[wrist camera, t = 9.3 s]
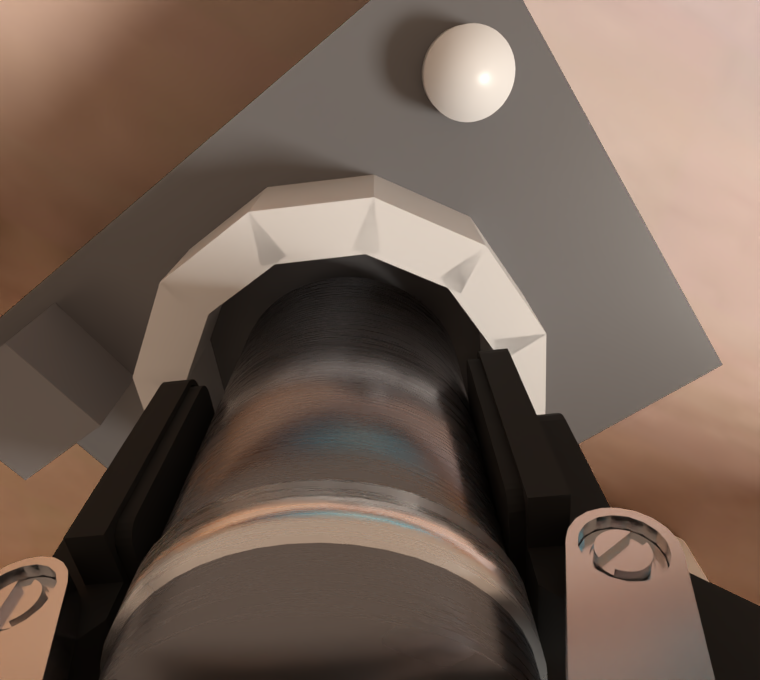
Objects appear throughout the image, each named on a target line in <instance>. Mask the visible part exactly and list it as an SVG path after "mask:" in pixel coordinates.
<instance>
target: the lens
mask: <svg viewBox="0 0 760 680" xmlns="http://www.w3.org/2000/svg"><path fill="white" fill-rule="evenodd" d="M99 680H548V679H547V666H546V661H545V658H544V654H543V650H542V647H541V643H540V639H539V636H538V632H537V629H536V625H535V621H534V618H533V614H532V610H531V607H530V603H529V600H528V596H527V593H526V589H525V586H524V583H523V581H522V579H521V577H520V575H519V573H518V571H517V569H516V567H515V566H514V564H513V563H512V562H511V560H510V559H509V557H508V553H507V549H506V546H505V542H504V538H503V534H502V530H501V526H500V522H499V519H498V515H497V511H496V507H495V503H494V499H493V496H492V492H491V488H490V484H489V480H488V476H487V472H486V469H485V465H484V461H483V457H482V453H481V449H480V445H479V442H478V438H477V434H476V430H475V426H474V422H473V418H472V415H471V411H470V407H469V403H468V398H467V394H466V391H465V387H464V383H463V379H462V375H461V371H460V367H459V364H458V360H457V356H456V352H455V349H454V346H453V343H452V341H451V338H450V336H449V334H448V332H447V330H446V329H445V327H444V326H443V324H442V323H441V321H440V320H439V319H438V317H437V316H436V315H435V314H434V313H433V312H432V311H431V310H430V309H429V308H428V307H427V306H426V305H425V304H424V303H422V302H421V301H420V300H419V299H417V298H415V297H414V296H412V295H411V294H409V293H408V292H406V291H404V290H402V289H400V288H398V287H396V286H393V285H390V284H387V283H384V282H381V281H377V280H372V279H367V278H357V277H337V278H330V279H324V280H319V281H315V282H312V283H309V284H305V285H303V286H301V287H299V288H297V289H294V290H292V291H290V292H289V293H287V294H286V295H284V296H282V297H281V298H279V299H278V300H277V301H276V302H275V303H273V304H272V305H271V306H270V307H269V308H268V309H267V310H266V311H265V312H264V313H263V314H262V315H261V316H260V318H259V319H258V321H257V322H256V324H255V325H254V327H253V328H252V330H251V332H250V334H249V337H248V339H247V341H246V343H245V345H244V348H243V350H242V352H241V355H240V357H239V359H238V362H237V364H236V366H235V368H234V371H233V373H232V375H231V378H230V380H229V382H228V384H227V387H226V389H225V391H224V394H223V396H222V398H221V400H220V403H219V405H218V407H217V410H216V412H215V414H214V416H213V419H212V421H211V423H210V426H209V428H208V430H207V433H206V435H205V437H204V439H203V442H202V444H201V446H200V449H199V451H198V453H197V455H196V458H195V460H194V462H193V465H192V467H191V469H190V471H189V474H188V476H187V478H186V481H185V483H184V485H183V487H182V490H181V492H180V494H179V497H178V499H177V501H176V504H175V506H174V508H173V510H172V513H171V515H170V517H169V520H168V522H167V524H166V526H165V529H164V531H163V533H162V536H161V538H160V539H159V540H158V541H157V542H156V543H155V544H154V545H153V546H152V547H151V549H150V550H149V552H148V553H147V554H146V556H145V557H144V559H143V560H142V561H141V563H140V565H139V568H138V570H137V572H136V574H135V576H134V578H133V580H132V583H131V585H130V587H129V589H128V591H127V594H126V596H125V598H124V600H123V602H122V605H121V607H120V609H119V611H118V613H117V616H116V618H115V620H114V622H113V624H112V627H111V629H110V631H109V633H108V635H107V638H106V640H105V642H104V647H103V651H102V655H101V659H100V678H99Z"/></svg>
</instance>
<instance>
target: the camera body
mask: <svg viewBox="0 0 760 680" xmlns="http://www.w3.org/2000/svg"><path fill="white" fill-rule="evenodd" d="M337 277H357V278H367V279H372V280H377V281H381V282H384V283H387V284H390V285H393V286H396V287H398V288H400V289H402V290H404V291H406V292H408V293H409V294H411V295H412V296H414V297H415V298H417V299H419V300H420V301H421V302H422V303H424V304H425V305H426V306H427V307H428V308H429V309H430V310H431V311H432V312H433V313H434V314H435V315H436V316H437V317H438V319H439V320H440V321H441V323H442V324H443V326H444V327H445V329H446V330H447V332H448V334H449V336H450V338H451V341H452V343H453V346H454V349H455V352H456V356H457V360H458V364H459V367H460V371H461V375H462V379H463V383H464V387H465V391H466V394H467V398H468V384H467V360H472V359H477V352H478V351H486V350H496V349H506V348H507V349H508V350H509V352H510V355H511V357H512V359H513V361H514V364H515V366H516V368H517V371H518V373H519V375H520V378H521V380H522V382H523V384H524V387H525V389H526V391H527V394H528V396H529V398H530V401H531V403H532V405H533V408H534V410H535V412H536V414H537V415H541V414H552V413H561V414H562V415H563V416H564V418H565V419H566V421H567V423H568V425H569V427H570V429H571V431H572V433H573V435H574V437H575V439H576V441H577V443H578V444H579V443H581V442H583V441H585V440H587V439H588V438H590V437H592V436H594V435H596V434H598V433H599V432H601V431H603V430H605V429H607V428H609V427H610V426H612V425H614V424H616V423H618V422H619V421H621V420H623V419H625V418H627V417H629V416H630V415H632V414H634V413H636V412H638V411H639V410H641V409H643V408H645V407H647V406H649V405H650V404H652V403H654V402H656V401H658V400H659V399H661V398H663V397H665V396H667V395H669V394H670V393H672V392H674V391H676V390H678V389H679V388H681V387H683V386H685V385H687V384H689V383H690V382H692V381H694V380H696V379H698V378H699V377H701V376H703V375H705V374H707V373H709V372H710V371H712V370H714V369H716V368H718V367H720V366H721V365H722V363H721V361H720V359H719V357H718V355H717V354H716V352H715V350H714V348H713V346H712V344H711V343H710V341H709V339H708V337H707V335H706V334H705V332H704V330H703V328H702V326H701V324H700V323H699V321H698V319H697V317H696V315H695V313H694V312H693V310H692V308H691V306H690V304H689V303H688V301H687V299H686V297H685V295H684V293H683V292H682V290H681V288H680V286H679V284H678V282H677V281H676V279H675V277H674V275H673V273H672V272H671V270H670V268H669V266H668V264H667V262H666V261H665V259H664V257H663V255H662V253H661V251H660V250H659V248H658V246H657V244H656V242H655V240H654V239H653V237H652V235H651V233H650V231H649V230H648V228H647V226H646V224H645V222H644V220H643V219H642V217H641V215H640V213H639V211H638V209H637V208H636V206H635V204H634V202H633V200H632V199H631V197H630V195H629V193H628V191H627V189H626V188H625V186H624V184H623V182H622V180H621V178H620V177H619V175H618V173H617V171H616V169H615V167H614V166H613V164H612V162H611V160H610V158H609V157H608V155H607V153H606V151H605V149H604V147H603V146H602V144H601V142H600V140H599V138H598V136H597V135H596V133H595V131H594V129H593V127H592V126H591V124H590V122H589V120H588V118H587V116H586V115H585V113H584V111H583V109H582V107H581V105H580V104H579V102H578V100H577V98H576V96H575V95H574V93H573V91H572V89H571V87H570V85H569V84H568V82H567V80H566V78H565V76H564V74H563V73H562V71H561V69H560V67H559V65H558V63H557V62H556V60H555V58H554V56H553V54H552V53H551V51H550V49H549V47H548V45H547V43H546V42H545V40H544V38H543V36H542V34H541V32H540V31H539V29H538V27H537V25H536V23H535V22H534V20H533V18H532V16H531V14H530V12H529V11H528V9H527V7H526V5H525V3H524V1H523V0H370V1H369V2H368V3H367V4H365V5H364V6H363V7H362V8H361V9H360V10H358V11H357V12H356V13H355V14H354V15H353V16H351V17H350V18H349V19H348V20H347V21H346V22H344V23H343V24H342V25H341V26H340V27H339V28H337V29H336V30H335V31H334V32H333V33H332V34H330V35H329V36H328V37H327V38H326V39H325V40H323V41H322V42H321V43H320V44H319V45H318V46H316V47H315V48H314V49H313V50H312V51H311V52H309V53H308V54H307V55H306V56H305V57H304V58H302V59H301V60H300V61H299V62H298V63H297V64H295V65H294V66H293V67H292V68H291V69H290V70H288V71H287V72H286V73H285V74H284V75H283V76H281V77H280V78H279V79H278V80H277V81H276V82H274V83H273V84H272V85H271V86H270V87H269V88H267V89H266V90H265V91H264V92H263V93H262V94H260V95H259V96H258V97H257V98H256V99H255V100H253V101H252V102H251V103H250V104H249V105H248V106H246V107H245V108H244V109H243V110H242V111H241V112H239V113H238V114H237V115H236V116H235V117H234V118H232V119H231V120H230V121H229V122H228V123H227V124H225V125H224V126H223V127H222V128H221V129H220V130H218V131H217V132H216V133H215V134H214V135H213V136H211V137H210V138H209V139H208V140H207V141H206V142H204V143H203V144H202V145H201V146H200V147H199V148H197V149H196V150H195V151H194V152H193V153H192V154H190V155H189V156H188V157H187V158H186V159H185V160H183V161H182V162H181V163H180V164H179V165H178V166H176V167H175V168H174V169H173V170H172V171H171V172H169V173H168V174H167V175H166V176H165V177H164V178H162V179H161V180H160V181H159V182H158V183H157V184H155V185H154V186H153V187H152V188H151V189H150V190H148V191H147V192H146V193H145V194H144V195H143V196H141V197H140V198H139V199H138V200H137V201H136V202H134V203H133V204H132V205H131V206H130V207H129V208H127V209H126V210H125V211H124V212H123V213H122V214H120V215H119V216H118V217H117V218H116V219H115V220H113V221H112V222H111V223H110V224H109V225H108V226H106V227H105V228H104V229H103V230H102V231H101V232H99V233H98V234H97V235H96V236H95V237H94V238H92V239H91V240H90V241H89V242H88V243H87V244H85V245H84V246H83V247H82V248H81V249H80V250H78V251H77V252H76V253H75V254H74V255H73V256H71V257H70V258H69V259H68V260H67V261H66V262H64V263H63V264H62V265H61V266H60V267H59V268H57V269H56V270H55V271H54V272H53V273H52V274H50V275H49V276H48V277H47V278H46V279H45V280H43V281H42V282H41V283H40V284H39V285H38V286H36V287H35V288H34V289H33V290H32V291H31V292H29V293H28V294H27V295H26V296H25V297H24V298H22V299H21V300H20V301H19V302H18V303H17V304H15V305H14V306H13V307H12V308H11V309H10V310H8V311H7V312H6V313H5V314H4V315H3V316H1V317H0V461H1V462H2V463H4V464H5V465H6V466H8V467H9V468H10V469H12V470H13V471H14V472H15V473H17V474H18V475H19V476H21V477H22V478H23V479H24V480H27V479H28V478H30V477H31V476H32V475H34V474H35V473H36V472H38V471H39V470H40V469H42V468H43V467H45V466H46V465H47V464H49V463H50V462H51V461H53V460H54V459H55V458H57V457H58V456H60V455H61V454H62V453H64V452H65V451H66V450H68V449H69V448H71V447H72V446H73V445H75V444H76V443H77V444H78V445H80V446H81V447H82V448H83V449H84V450H86V451H87V452H88V453H89V454H90V455H92V456H93V457H94V458H95V459H96V460H98V461H99V462H100V463H101V464H102V465H104V466H105V467H106V468H107V469H108V467H109V465H110V464H111V462H112V461H113V459H114V458H115V456H116V454H117V453H118V451H119V450H120V448H121V447H122V445H123V443H124V442H125V440H126V439H127V437H128V435H129V434H130V432H131V431H132V429H133V428H134V426H135V424H136V423H137V421H138V420H139V418H140V417H141V415H142V413H143V412H144V410H145V409H146V407H147V406H148V404H149V402H150V401H151V399H152V398H153V396H154V394H155V393H156V391H157V390H158V388H159V387H160V385H161V384H162V383H163V382H169V381H179V380H190V379H194V380H195V381H196V382H197V383H198V385H199V386H206V387H207V389H208V391H209V393H210V397H211V401H212V404H213V408H214V411H215V412H216V410H217V407H218V405H219V403H220V400H221V398H222V396H223V394H224V391H225V389H226V387H227V384H228V382H229V380H230V378H231V375H232V373H233V371H234V368H235V366H236V364H237V362H238V359H239V357H240V355H241V352H242V350H243V348H244V345H245V343H246V341H247V339H248V337H249V334H250V332H251V330H252V328H253V327H254V325H255V324H256V322H257V321H258V319H259V318H260V316H261V315H262V314H263V313H264V312H265V311H266V310H267V309H268V308H269V307H270V306H271V305H272V304H273V303H275V302H276V301H277V300H278V299H279V298H281V297H282V296H284V295H286V294H287V293H289V292H290V291H292V290H294V289H297V288H299V287H301V286H303V285H305V284H309V283H312V282H315V281H319V280H324V279H330V278H337Z"/></svg>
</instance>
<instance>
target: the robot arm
mask: <svg viewBox="0 0 760 680" xmlns="http://www.w3.org/2000/svg"><path fill="white" fill-rule="evenodd" d="M467 384H468V403H469V407H470V411H471V415H472V418H473V422H474V426H475V430H476V434H477V438H478V442H479V445H480V449H481V453H482V457H483V461H484V465H485V469H486V472H487V476H488V480H489V484H490V488H491V492H492V496H493V499H494V503H495V507H496V511H497V515H498V519H499V522H500V526H501V530H502V534H503V538H504V542H505V546H506V549H507V553H508V557H509V559H510V560H511V562H512V563H513V564H514V566H515V567H516V569H517V571H518V573H519V575H520V577H521V579H522V581H523V583H524V586H525V589H526V593H527V596H528V600H529V603H530V607H531V610H532V614H533V618H534V621H535V625H536V629H537V632H538V636H539V639H540V643H541V647H542V650H543V654H544V658H545V661H546V666H547V679H548V680H760V606H758V605H756V604H754V603H752V602H750V601H748V600H746V599H743V598H741V597H739V596H737V595H735V594H733V593H731V592H729V591H727V590H725V589H723V588H721V587H718V586H716V585H714V584H712V583H710V582H708V581H706V580H704V579H702V578H700V577H698V576H696V575H693V574H691V573H689V570H688V566H687V562H686V558H685V554H684V551H683V549H682V547H681V545H680V543H679V540H678V539H677V538H676V537H675V536H674V535H673V533H672V532H671V531H670V530H669V529H668V528H667V527H665V526H664V525H662V524H661V523H659V522H658V521H656V520H655V519H653V518H652V517H649V516H647V515H644V514H642V513H639V512H637V511H633V510H627V509H622V508H610V506H609V504H608V502H607V500H606V498H605V496H604V494H603V492H602V490H601V488H600V486H599V484H598V482H597V480H596V478H595V476H594V474H593V472H592V470H591V468H590V466H589V465H588V463H587V461H586V459H585V457H584V455H583V453H582V451H581V449H580V447H579V445H578V443H577V441H576V439H575V437H574V435H573V433H572V431H571V429H570V427H569V425H568V423H567V421H566V419H565V418H564V416H563V415H562V414H561V413H552V414H541V415H537V414H536V412H535V410H534V408H533V405H532V403H531V401H530V398H529V396H528V394H527V391H526V389H525V387H524V384H523V382H522V380H521V378H520V375H519V373H518V371H517V368H516V366H515V364H514V361H513V359H512V357H511V355H510V352H509V350H508V349H507V348H506V349H496V350H486V351H478V352H477V359H472V360H467ZM214 414H215V411H214V408H213V404H212V401H211V397H210V393H209V391H208V389H207V387H206V386H199V385H198V383H197V382H196V381H195V380H194V379H190V380H179V381H169V382H163V383H162V384H161V385H160V387H159V388H158V390H157V391H156V393H155V394H154V396H153V398H152V399H151V401H150V402H149V404H148V406H147V407H146V409H145V410H144V412H143V413H142V415H141V417H140V418H139V420H138V421H137V423H136V424H135V426H134V428H133V429H132V431H131V432H130V434H129V435H128V437H127V439H126V440H125V442H124V443H123V445H122V447H121V448H120V450H119V451H118V453H117V454H116V456H115V458H114V459H113V461H112V462H111V464H110V465H109V467H108V469H107V470H106V472H105V473H104V475H103V477H102V478H101V480H100V481H99V483H98V484H97V486H96V488H95V489H94V491H93V492H92V494H91V495H90V497H89V499H88V500H87V502H86V503H85V505H84V506H83V508H82V510H81V511H80V513H79V514H78V516H77V518H76V519H75V521H74V522H73V524H72V525H71V527H70V529H69V530H68V532H67V533H66V535H65V536H64V538H63V541H62V542H61V544H60V545H59V547H58V549H57V550H56V552H55V553H54V555H53V556H52V557H45V556H39V557H33V558H27V559H23V560H20V561H18V562H15V563H12V564H9V565H7V566H5V567H3V568H1V569H0V680H99V678H100V659H101V655H102V651H103V647H104V642H105V640H106V638H107V635H108V633H109V631H110V629H111V627H112V624H113V622H114V620H115V618H116V616H117V613H118V611H119V609H120V607H121V605H122V602H123V600H124V598H125V596H126V594H127V591H128V589H129V587H130V585H131V583H132V580H133V578H134V576H135V574H136V572H137V570H138V568H139V565H140V563H141V561H142V560H143V559H144V557H145V556H146V554H147V553H148V552H149V550H150V549H151V547H152V546H153V545H154V544H155V543H156V542H157V541H158V540H159V539H160V538H161V536H162V533H163V531H164V529H165V526H166V524H167V522H168V520H169V517H170V515H171V513H172V510H173V508H174V506H175V504H176V501H177V499H178V497H179V494H180V492H181V490H182V487H183V485H184V483H185V481H186V478H187V476H188V474H189V471H190V469H191V467H192V465H193V462H194V460H195V458H196V455H197V453H198V451H199V449H200V446H201V444H202V442H203V439H204V437H205V435H206V433H207V430H208V428H209V426H210V423H211V421H212V419H213V416H214Z"/></svg>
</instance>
